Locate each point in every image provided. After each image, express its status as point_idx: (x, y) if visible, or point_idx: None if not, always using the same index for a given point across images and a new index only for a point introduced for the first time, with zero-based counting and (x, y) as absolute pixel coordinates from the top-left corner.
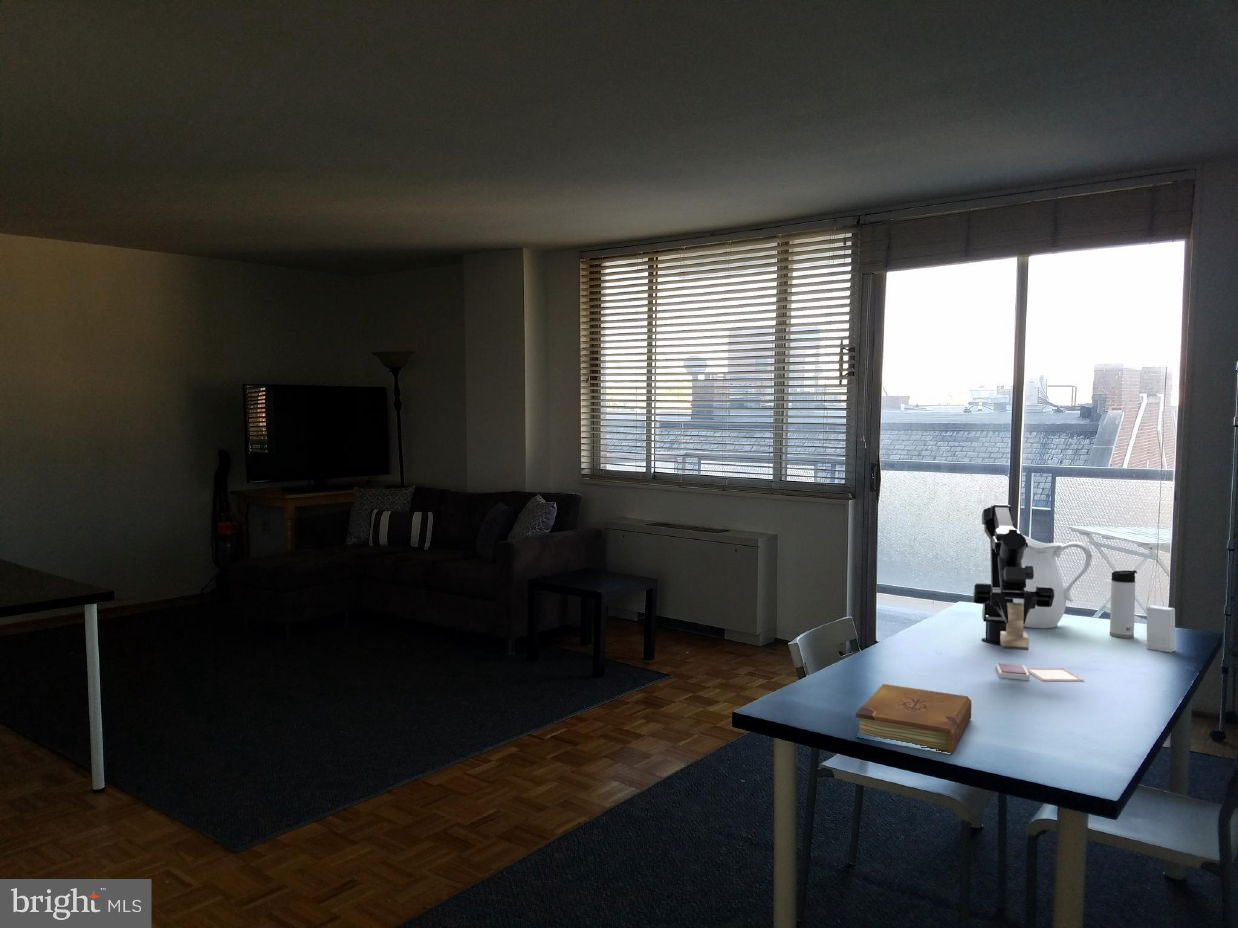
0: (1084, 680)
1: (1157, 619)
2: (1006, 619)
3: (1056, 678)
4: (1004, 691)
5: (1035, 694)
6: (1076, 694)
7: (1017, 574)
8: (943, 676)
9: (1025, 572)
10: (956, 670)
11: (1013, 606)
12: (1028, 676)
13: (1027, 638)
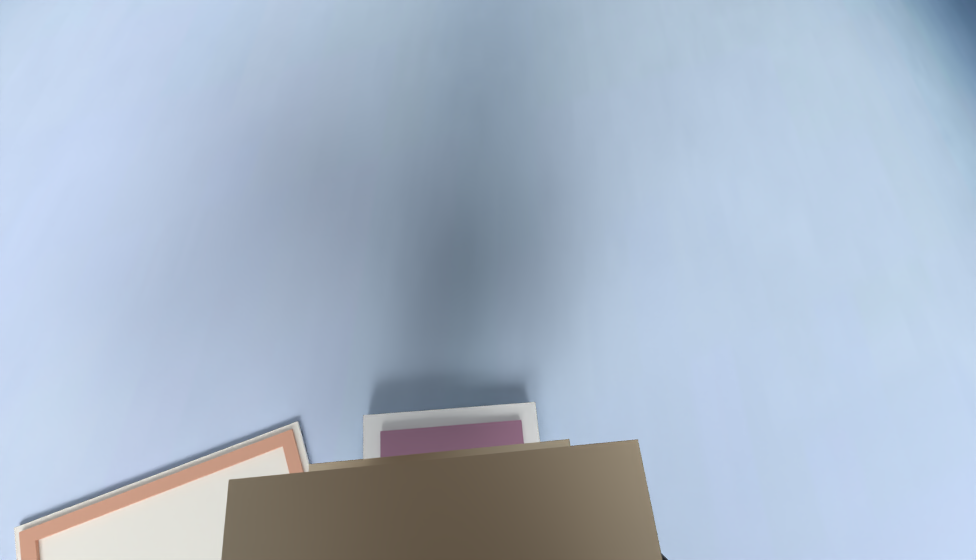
0: (15, 533)
1: None
2: None
3: (195, 506)
4: (504, 174)
5: (373, 174)
6: (175, 234)
7: None
8: (791, 317)
9: None
10: (763, 471)
11: (510, 456)
12: (371, 416)
13: (324, 465)
